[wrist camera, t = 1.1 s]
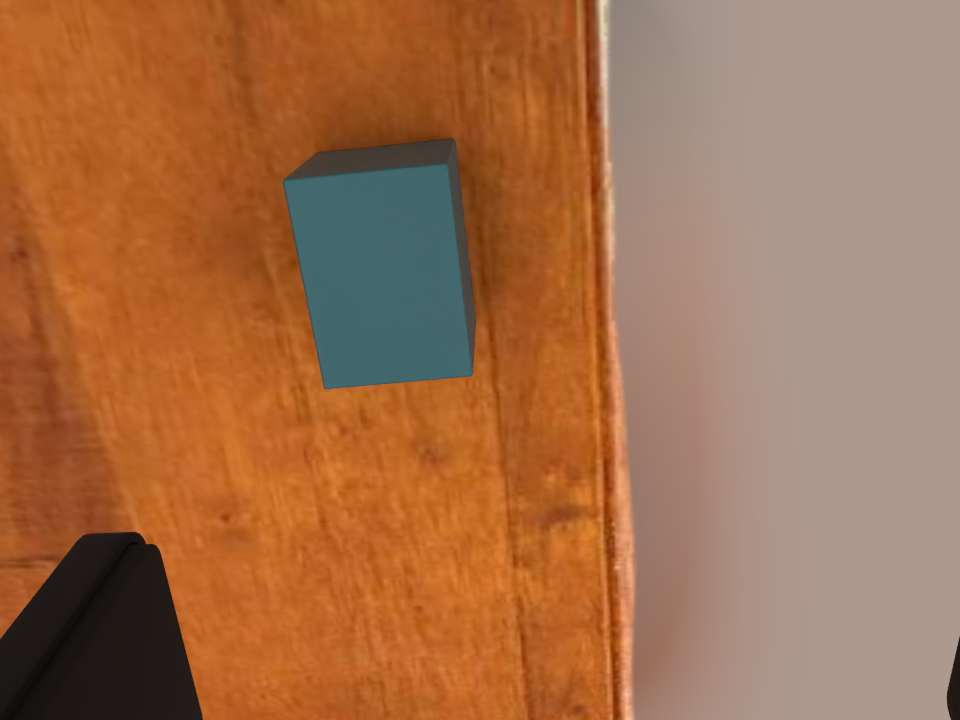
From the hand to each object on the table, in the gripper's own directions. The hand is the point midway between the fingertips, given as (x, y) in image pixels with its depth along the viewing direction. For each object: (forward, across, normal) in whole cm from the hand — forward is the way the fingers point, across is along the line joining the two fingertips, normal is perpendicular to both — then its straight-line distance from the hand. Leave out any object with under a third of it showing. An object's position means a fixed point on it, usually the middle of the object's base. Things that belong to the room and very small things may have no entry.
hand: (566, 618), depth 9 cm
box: (+22, +4, +1) cm, 22 cm away
